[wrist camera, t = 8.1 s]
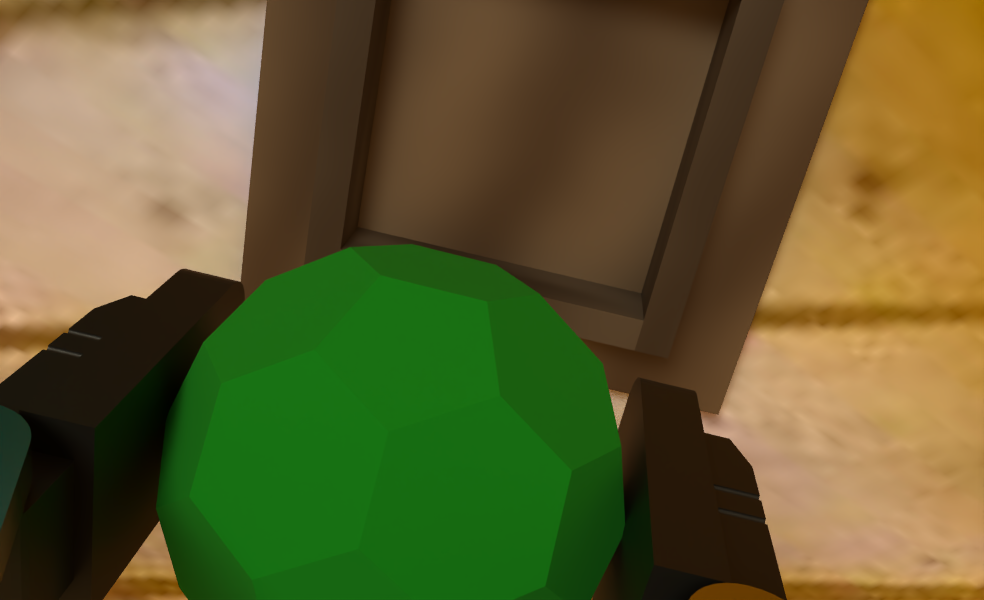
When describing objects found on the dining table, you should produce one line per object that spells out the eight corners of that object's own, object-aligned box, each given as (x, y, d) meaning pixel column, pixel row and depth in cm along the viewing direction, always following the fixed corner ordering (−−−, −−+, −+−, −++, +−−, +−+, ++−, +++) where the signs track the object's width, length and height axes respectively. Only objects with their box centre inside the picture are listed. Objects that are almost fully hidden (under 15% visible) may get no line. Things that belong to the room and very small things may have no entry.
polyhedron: (627, 518, 13) (638, 834, 9) (295, 521, 14) (150, 815, 9) (610, 177, 11) (615, 363, 7) (224, 202, 12) (-6, 384, 7)
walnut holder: (250, 289, 30) (214, 327, 28) (303, -253, 24) (264, -273, 21) (714, 399, 30) (725, 448, 27) (900, -121, 23) (939, -124, 21)
